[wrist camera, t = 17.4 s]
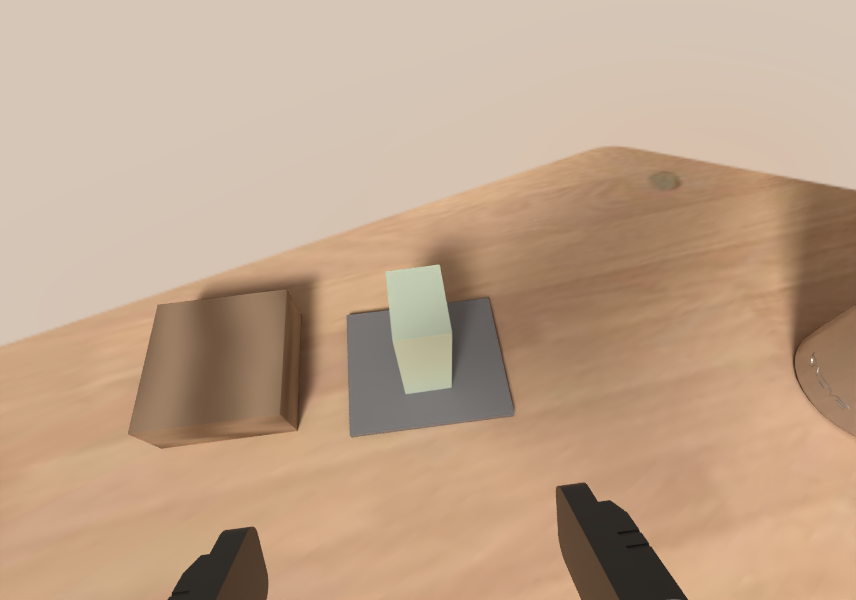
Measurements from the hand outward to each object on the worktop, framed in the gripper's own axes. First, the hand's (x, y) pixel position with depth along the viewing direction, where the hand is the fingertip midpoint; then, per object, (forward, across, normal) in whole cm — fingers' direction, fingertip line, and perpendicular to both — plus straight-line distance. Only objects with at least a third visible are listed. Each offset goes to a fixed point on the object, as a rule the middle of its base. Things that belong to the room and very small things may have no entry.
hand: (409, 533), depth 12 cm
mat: (+23, -1, +5) cm, 24 cm away
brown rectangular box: (+24, +14, +4) cm, 28 cm away
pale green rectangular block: (+23, -1, +4) cm, 23 cm away
